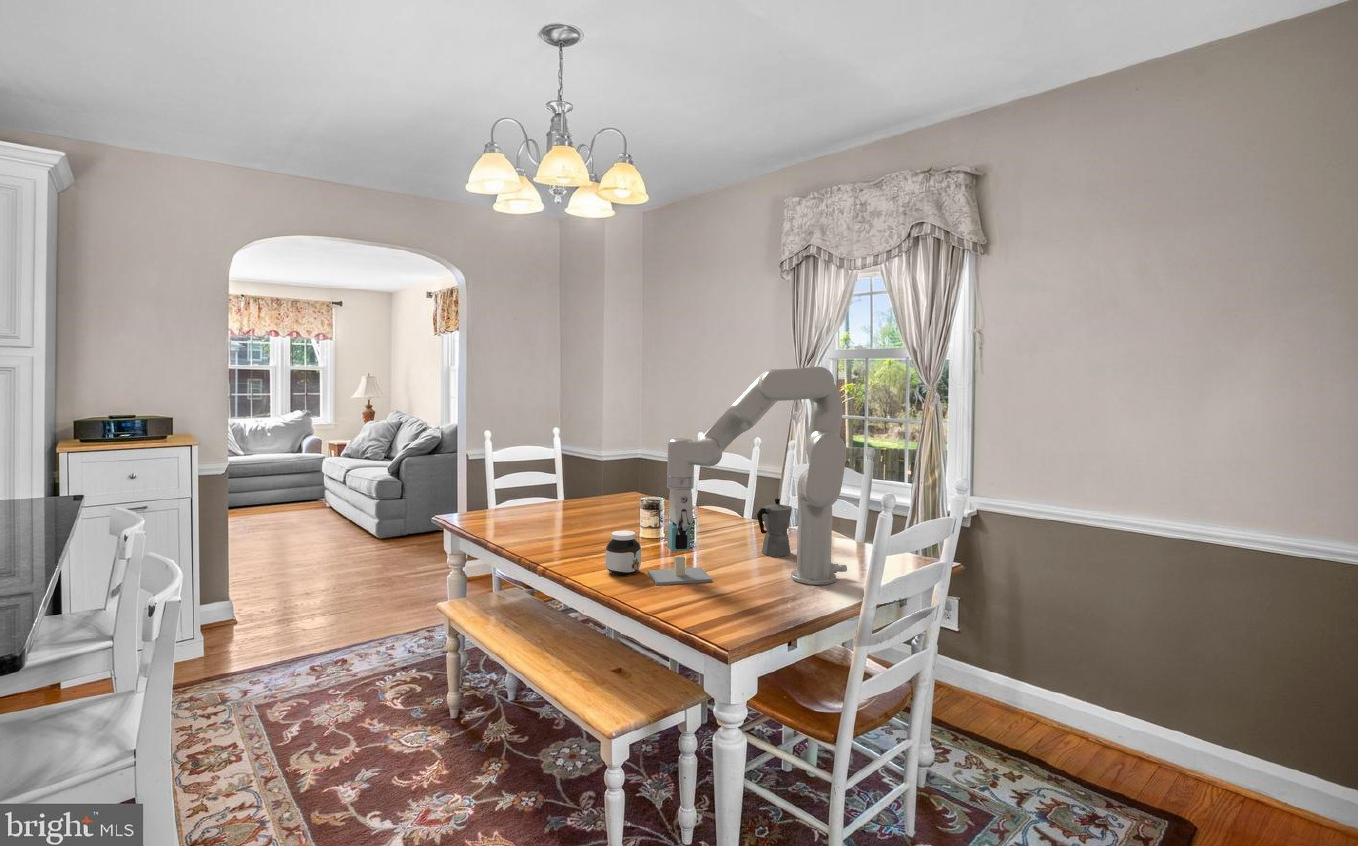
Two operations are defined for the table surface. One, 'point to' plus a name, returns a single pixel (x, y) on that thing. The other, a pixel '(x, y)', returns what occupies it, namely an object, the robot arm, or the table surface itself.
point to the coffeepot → (775, 529)
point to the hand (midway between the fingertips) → (678, 545)
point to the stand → (679, 574)
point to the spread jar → (623, 554)
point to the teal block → (672, 538)
